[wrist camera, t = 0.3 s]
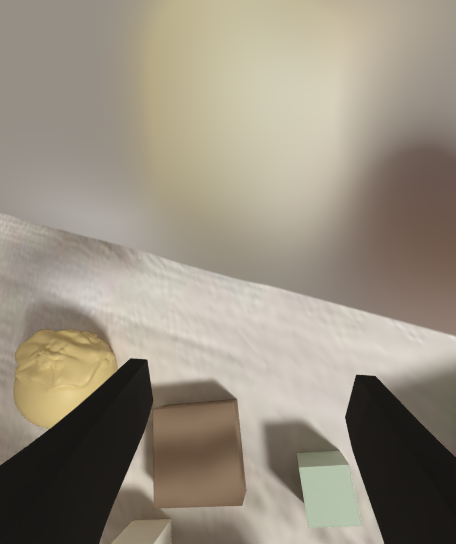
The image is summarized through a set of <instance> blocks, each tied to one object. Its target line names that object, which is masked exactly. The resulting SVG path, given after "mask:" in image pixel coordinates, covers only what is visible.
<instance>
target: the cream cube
mask: <svg viewBox="0 0 456 544" xmlns="http://www.w3.org/2000/svg"><path fill="white" fill-rule="evenodd" d="M111 544H172V526H171V519H158V520H133V521H132V522H131V523H130V524H129V525H128V526H127V527H126V528H125V529H124V530H123V531H122V532H121V533H120V534H119V535H118V536H117V537H116V539H115V540H114V541H113V542H112V543H111Z"/></svg>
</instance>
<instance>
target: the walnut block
mask: <svg viewBox="0 0 456 544" xmlns="http://www.w3.org/2000/svg"><path fill="white" fill-rule="evenodd" d="M153 469H154V508H184V507H215V506H242V504H243V501H244V497H245V494H246V483H245V473H244V463H243V453H242V443H241V433H240V423H239V413H238V403H237V399H232V400H221V401H209V402H198V403H187V404H175V405H165V406H162V407H159V408H156V409H153Z"/></svg>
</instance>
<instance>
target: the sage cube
mask: <svg viewBox="0 0 456 544" xmlns="http://www.w3.org/2000/svg"><path fill="white" fill-rule="evenodd" d="M296 454H297V460H298V466H299V472H300V479H301V485H302V491H303V497H304V504H305V510H306V516H307V522H308V528H321V527H357V526H362V523H361V518H360V513H359V509H358V504H357V499H356V494H355V490H354V485H353V480H352V475H351V471H350V466H349V464H348V462H347V461H346V459H345V458H344V456H343V455H342V453H341V452H340V450H337V451H321V452H305V453H296Z"/></svg>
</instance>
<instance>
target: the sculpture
mask: <svg viewBox="0 0 456 544" xmlns="http://www.w3.org/2000/svg"><path fill="white" fill-rule="evenodd" d="M15 361H16V362H17V364H18V366H17V369H16V372H15V377H16V378H15V382H14V400H15V403H16V406H17V408H18V410H19V411H20V413H21V414H22V415H23V416H24V417H25V418H26V419H27V420H28V421H30V422H31V423H33V424H35V425H37V426H40V427H44V428H49V429H50V428H51V427H53V426H54V425H55V424H56V423H58V422H59V421H60V420H61V419H62V418H64V417H65V416H66V415H67V414H69V413H70V412H71V411H72V410H73V409H75V408H76V407H77V406H78V405H79V404H80V403H81V402H83V401H84V400H85V399H86V398H87V397H88V396H89V395H91V394H92V393H93V392H94V391H95V390H96V389H97V388H99V387H100V386H101V385H102V384H103V383H104V382H105V381H106V380H107V379H108V378H110V377H111V376H112V375H113V374H114V373H115V372H116V371H117V370H118V368H117V362H116V359H115V356H114V354H113V353H112V351H111V350H110V349H109V345H108V344H107V343H106V342H105V341H103V340H102V339H100V338H97V335H96V334H94V333H91V334H90V332H88V331H82V332H80V331H76V330H72V329H66V330H60V331H57V332H54V331H53V330H50V329H45V330H39V331H37V332H36V333H34V334H33V336H32V337H31V338H29V339H27V340H26V341H25V342H23V343H22V344H21V345H20V346H19V348H18V349H17V351H16V353H15Z"/></svg>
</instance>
